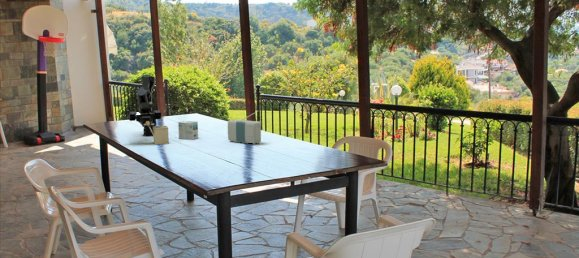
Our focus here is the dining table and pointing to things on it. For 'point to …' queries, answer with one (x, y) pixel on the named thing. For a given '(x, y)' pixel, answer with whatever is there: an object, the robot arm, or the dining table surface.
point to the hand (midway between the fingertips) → (146, 126)
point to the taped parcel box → (244, 131)
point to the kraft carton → (160, 135)
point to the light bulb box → (188, 130)
